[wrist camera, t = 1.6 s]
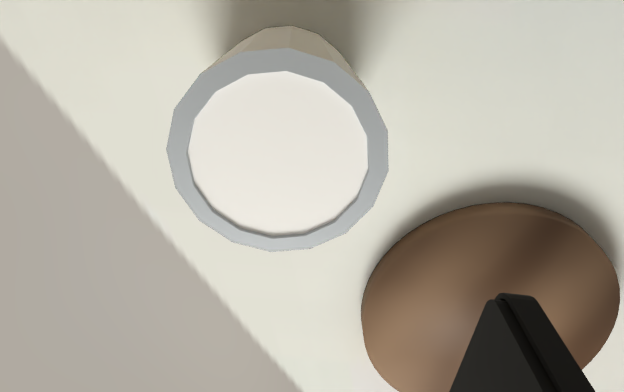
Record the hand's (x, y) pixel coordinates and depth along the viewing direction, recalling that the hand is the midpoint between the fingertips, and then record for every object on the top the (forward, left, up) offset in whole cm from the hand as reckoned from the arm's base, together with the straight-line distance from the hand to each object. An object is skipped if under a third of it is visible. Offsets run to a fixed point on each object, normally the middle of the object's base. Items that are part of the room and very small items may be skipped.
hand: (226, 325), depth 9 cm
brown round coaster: (-13, +10, -14) cm, 22 cm away
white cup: (-1, 0, -15) cm, 15 cm away
